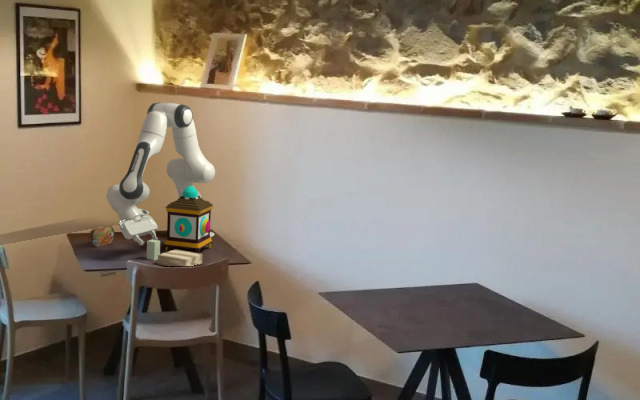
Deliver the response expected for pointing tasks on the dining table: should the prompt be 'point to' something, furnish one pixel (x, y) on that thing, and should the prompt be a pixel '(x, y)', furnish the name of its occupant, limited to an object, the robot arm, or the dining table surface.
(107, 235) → the tin
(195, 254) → the plinth
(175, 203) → the decorative lantern
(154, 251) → the green block
